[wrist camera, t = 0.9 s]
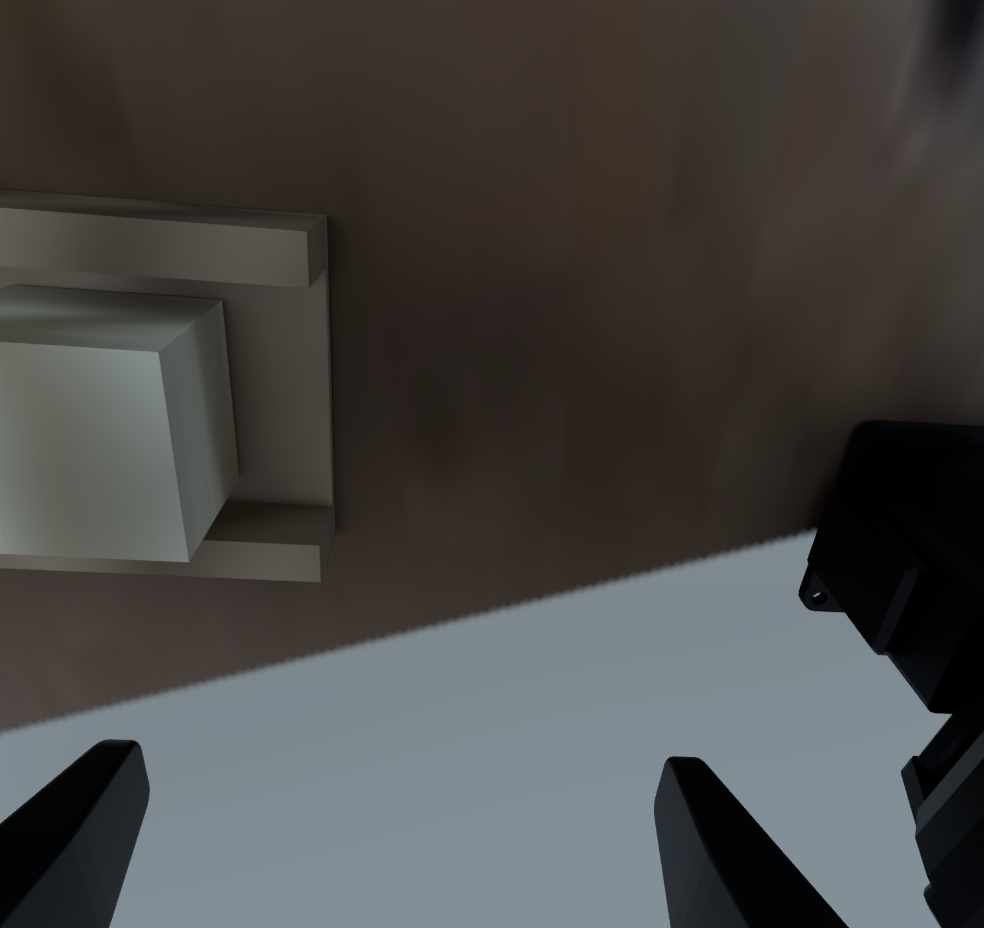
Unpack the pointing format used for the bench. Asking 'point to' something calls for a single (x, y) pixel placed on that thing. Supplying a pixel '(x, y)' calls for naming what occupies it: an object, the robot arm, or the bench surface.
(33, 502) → the block
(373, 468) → the bench surface
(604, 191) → the bench surface
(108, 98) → the bench surface
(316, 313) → the chute
